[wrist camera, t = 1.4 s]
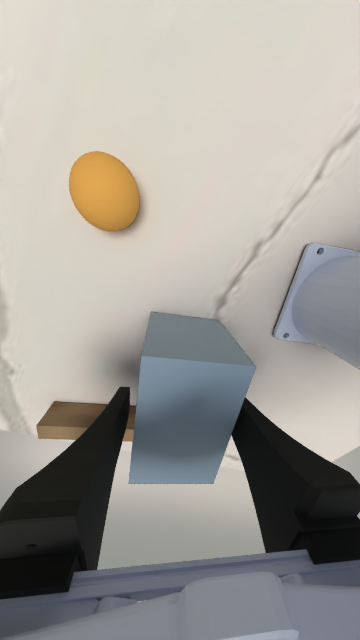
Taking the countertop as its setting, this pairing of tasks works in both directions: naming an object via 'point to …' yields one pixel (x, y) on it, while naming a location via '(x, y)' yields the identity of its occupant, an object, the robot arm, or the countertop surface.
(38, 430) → the brown rectangular block
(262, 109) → the countertop surface
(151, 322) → the blue-grey rectangular block
